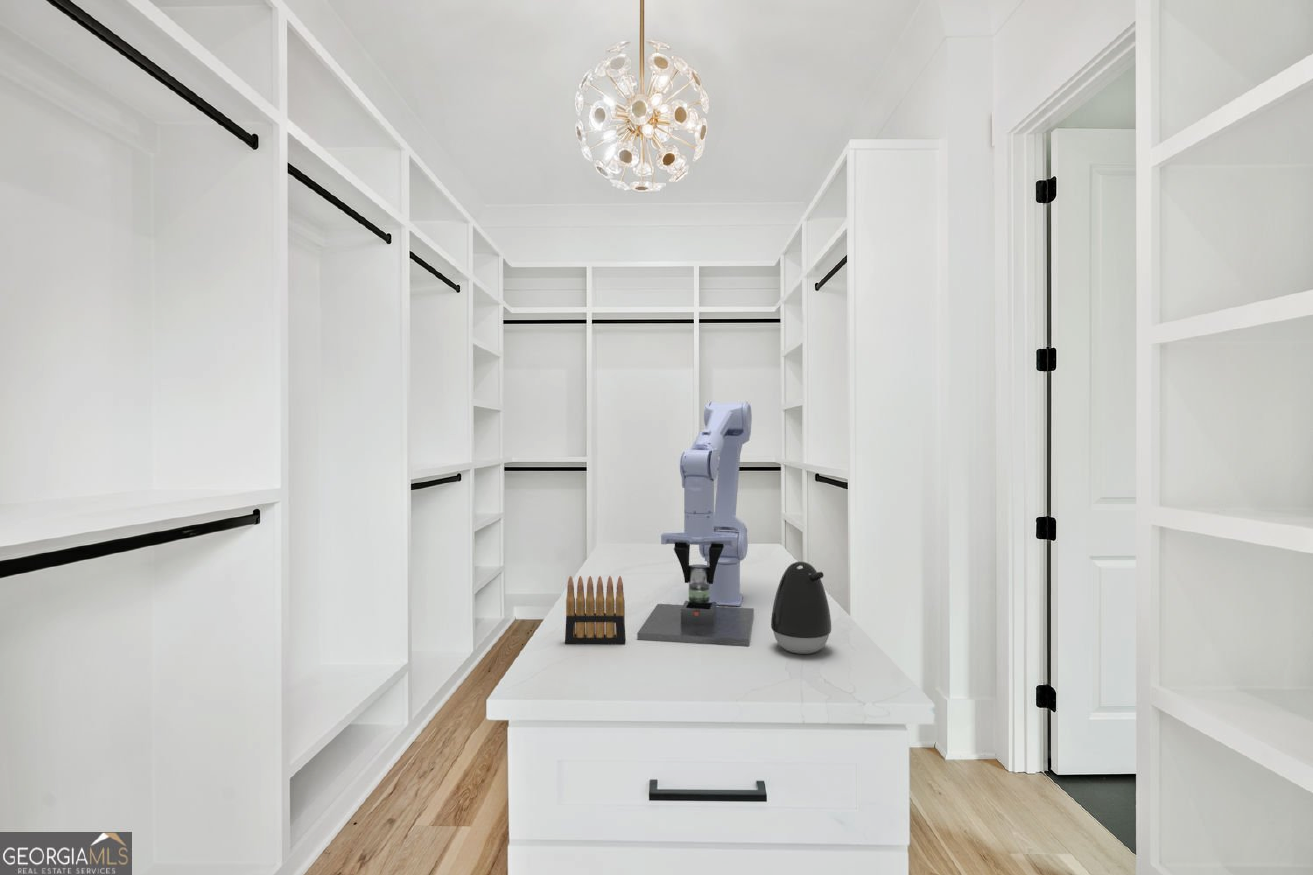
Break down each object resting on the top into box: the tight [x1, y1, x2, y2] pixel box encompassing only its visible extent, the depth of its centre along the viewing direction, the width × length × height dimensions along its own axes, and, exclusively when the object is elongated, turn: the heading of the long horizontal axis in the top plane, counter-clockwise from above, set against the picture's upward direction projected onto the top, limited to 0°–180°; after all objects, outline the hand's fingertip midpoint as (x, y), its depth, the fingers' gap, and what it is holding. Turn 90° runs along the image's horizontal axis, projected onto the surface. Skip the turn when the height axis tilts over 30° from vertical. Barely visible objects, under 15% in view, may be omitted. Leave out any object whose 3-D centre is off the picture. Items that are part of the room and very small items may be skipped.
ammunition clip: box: [564, 575, 627, 646], centre depth 120 cm, size 11×2×12 cm, turn 90°
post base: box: [636, 600, 755, 647], centre depth 130 cm, size 20×20×4 cm
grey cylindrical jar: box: [688, 563, 710, 603], centre depth 130 cm, size 4×4×6 cm
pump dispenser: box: [770, 561, 832, 655], centre depth 116 cm, size 10×10×15 cm
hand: (699, 582), depth 130 cm, fingers closed on grey cylindrical jar, 4 cm apart
